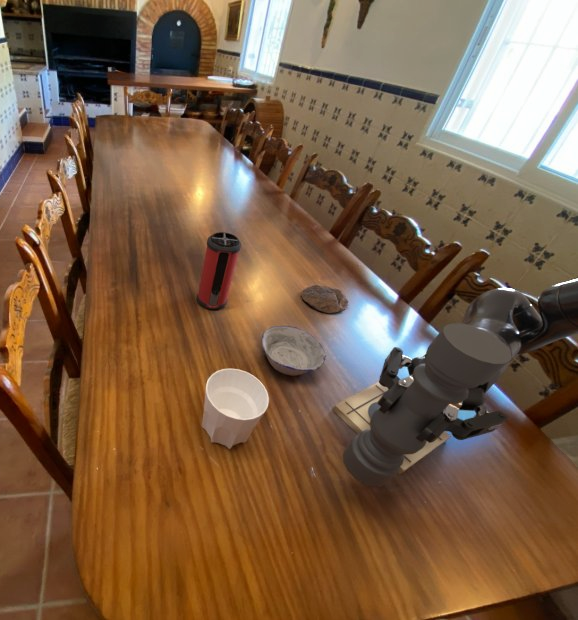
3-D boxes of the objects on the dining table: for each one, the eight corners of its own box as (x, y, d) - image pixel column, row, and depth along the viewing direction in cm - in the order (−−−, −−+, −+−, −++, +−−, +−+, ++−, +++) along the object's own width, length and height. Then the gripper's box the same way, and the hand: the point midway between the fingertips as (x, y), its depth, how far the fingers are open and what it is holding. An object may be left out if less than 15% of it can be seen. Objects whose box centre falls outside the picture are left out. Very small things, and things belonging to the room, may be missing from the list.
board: (446, 440, 64) (451, 436, 63) (399, 475, 59) (404, 470, 58) (377, 384, 74) (381, 379, 73) (331, 409, 68) (335, 404, 67)
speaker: (196, 308, 89) (208, 245, 77) (196, 290, 95) (207, 228, 83) (227, 312, 88) (243, 248, 77) (225, 293, 94) (240, 232, 83)
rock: (294, 288, 99) (297, 280, 97) (335, 288, 100) (338, 281, 98) (310, 314, 90) (313, 306, 88) (354, 314, 91) (358, 306, 89)
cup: (248, 462, 59) (264, 428, 52) (190, 440, 61) (199, 406, 55) (256, 413, 66) (271, 379, 60) (204, 396, 68) (213, 361, 62)
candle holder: (334, 461, 51) (430, 337, 35) (355, 437, 54) (452, 313, 38) (376, 496, 48) (504, 376, 32) (396, 469, 51) (522, 347, 35)
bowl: (307, 342, 82) (315, 326, 79) (326, 387, 72) (335, 371, 69) (251, 337, 82) (257, 322, 79) (262, 382, 72) (269, 366, 69)
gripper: (426, 312, 51) (360, 360, 43) (550, 379, 42) (495, 454, 34) (400, 349, 56) (336, 398, 48) (506, 415, 47) (450, 489, 39)
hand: (403, 421), depth 41 cm, fingers closed on candle holder, 4 cm apart
